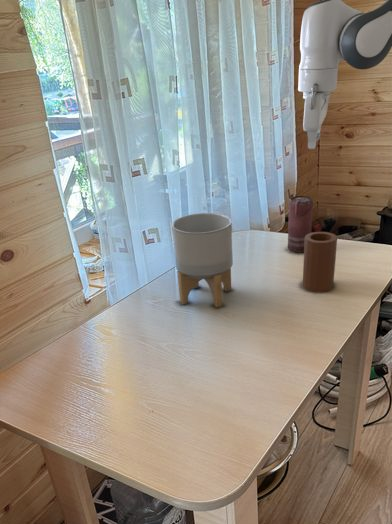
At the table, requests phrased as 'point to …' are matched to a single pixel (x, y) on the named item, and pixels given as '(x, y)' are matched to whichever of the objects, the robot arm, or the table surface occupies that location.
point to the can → (299, 222)
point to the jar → (319, 261)
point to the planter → (203, 253)
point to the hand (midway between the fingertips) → (313, 144)
